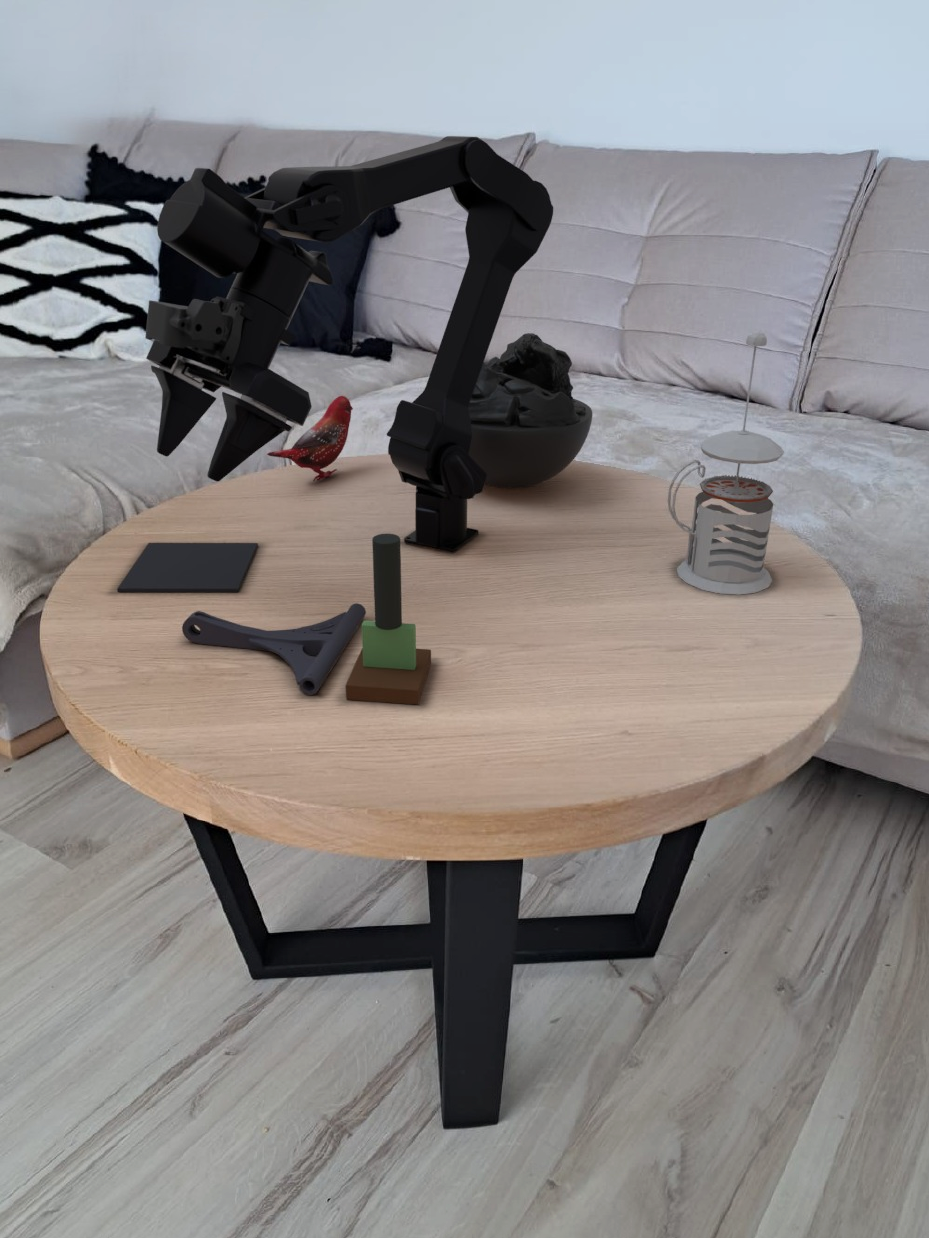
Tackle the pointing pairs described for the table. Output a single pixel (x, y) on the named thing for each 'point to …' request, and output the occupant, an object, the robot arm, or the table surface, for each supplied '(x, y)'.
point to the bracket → (284, 642)
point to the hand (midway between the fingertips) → (186, 466)
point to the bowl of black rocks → (526, 415)
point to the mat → (190, 567)
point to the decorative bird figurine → (322, 440)
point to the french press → (730, 512)
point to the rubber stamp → (388, 638)
